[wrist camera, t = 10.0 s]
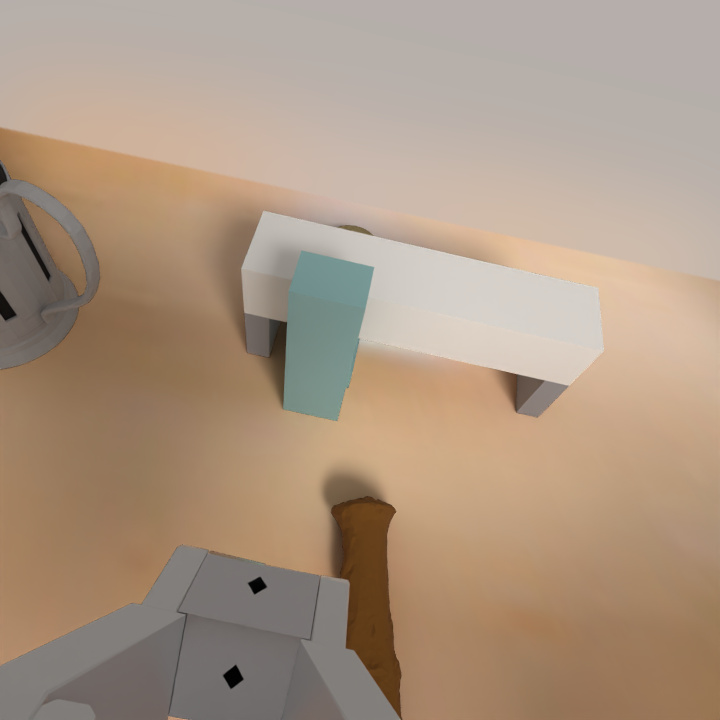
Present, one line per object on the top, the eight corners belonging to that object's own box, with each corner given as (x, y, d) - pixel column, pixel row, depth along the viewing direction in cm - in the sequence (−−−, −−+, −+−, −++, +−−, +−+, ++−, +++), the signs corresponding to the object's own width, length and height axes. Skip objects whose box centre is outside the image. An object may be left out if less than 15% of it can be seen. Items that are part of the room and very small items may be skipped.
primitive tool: (434, 964, 22) (458, 1006, 19) (302, 985, 22) (306, 1033, 19) (389, 505, 32) (400, 487, 29) (297, 509, 31) (299, 490, 28)
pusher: (370, 285, 40) (403, 149, 30) (341, 421, 34) (371, 309, 24) (317, 273, 40) (333, 132, 30) (279, 408, 34) (283, 289, 24)
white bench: (537, 361, 39) (598, 287, 32) (537, 417, 36) (603, 350, 29) (264, 300, 38) (263, 210, 31) (247, 352, 36) (241, 268, 28)
